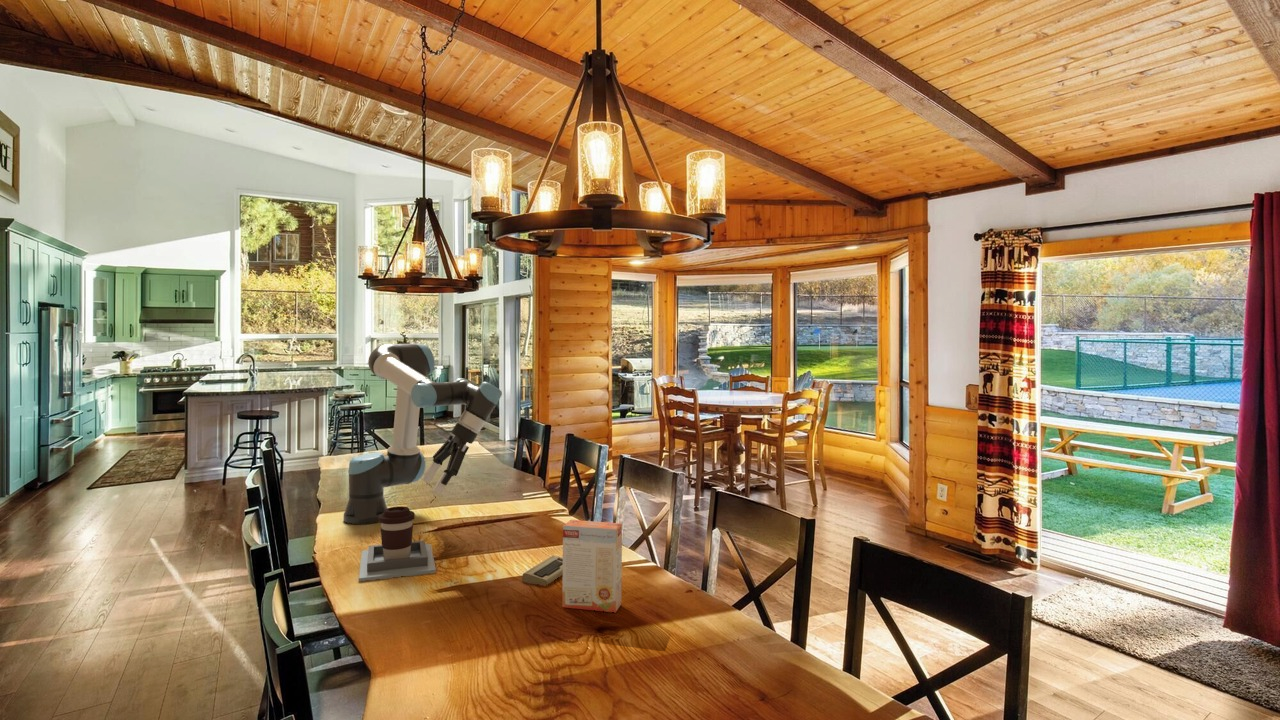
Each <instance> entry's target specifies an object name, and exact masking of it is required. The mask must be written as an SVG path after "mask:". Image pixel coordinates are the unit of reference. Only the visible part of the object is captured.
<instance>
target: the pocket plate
mask: <svg viewBox="0 0 1280 720" xmlns="http://www.w3.org/2000/svg"><path fill="white" fill-rule="evenodd" d="M436 568H437V567H436V565H435V559H434V554H433V548H432V544H431V543H426V540H424V539H423V540H414V541H413V540H412V544H411V551H410V557H407V558H398V559H388V560H384V556H383V548H382V544H374V545H372V544H371V545H368V549H364V550H361V557H360V565H359V573H358V582H359V581H363V582H366V581H365V580H372V581H377V580H376V579H380V580H387V579H388V578H389V579H394V578H393V577H398V578H402V577H401V576H406V577H414V576H421V575H428V574H429V575H430V574H436V573H437V569H436Z"/></svg>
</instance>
